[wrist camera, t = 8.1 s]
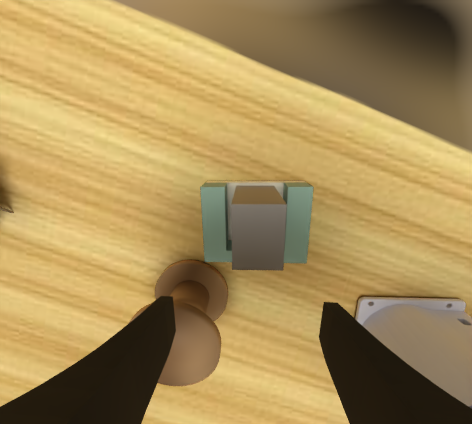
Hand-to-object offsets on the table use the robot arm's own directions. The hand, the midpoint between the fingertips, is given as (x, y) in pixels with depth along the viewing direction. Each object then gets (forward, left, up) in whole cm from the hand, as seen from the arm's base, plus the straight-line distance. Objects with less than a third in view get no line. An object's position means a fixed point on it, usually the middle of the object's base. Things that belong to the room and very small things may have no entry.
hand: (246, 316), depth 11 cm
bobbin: (+5, +6, -10) cm, 13 cm away
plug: (-1, -3, -9) cm, 9 cm away
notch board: (-1, -2, -10) cm, 10 cm away
